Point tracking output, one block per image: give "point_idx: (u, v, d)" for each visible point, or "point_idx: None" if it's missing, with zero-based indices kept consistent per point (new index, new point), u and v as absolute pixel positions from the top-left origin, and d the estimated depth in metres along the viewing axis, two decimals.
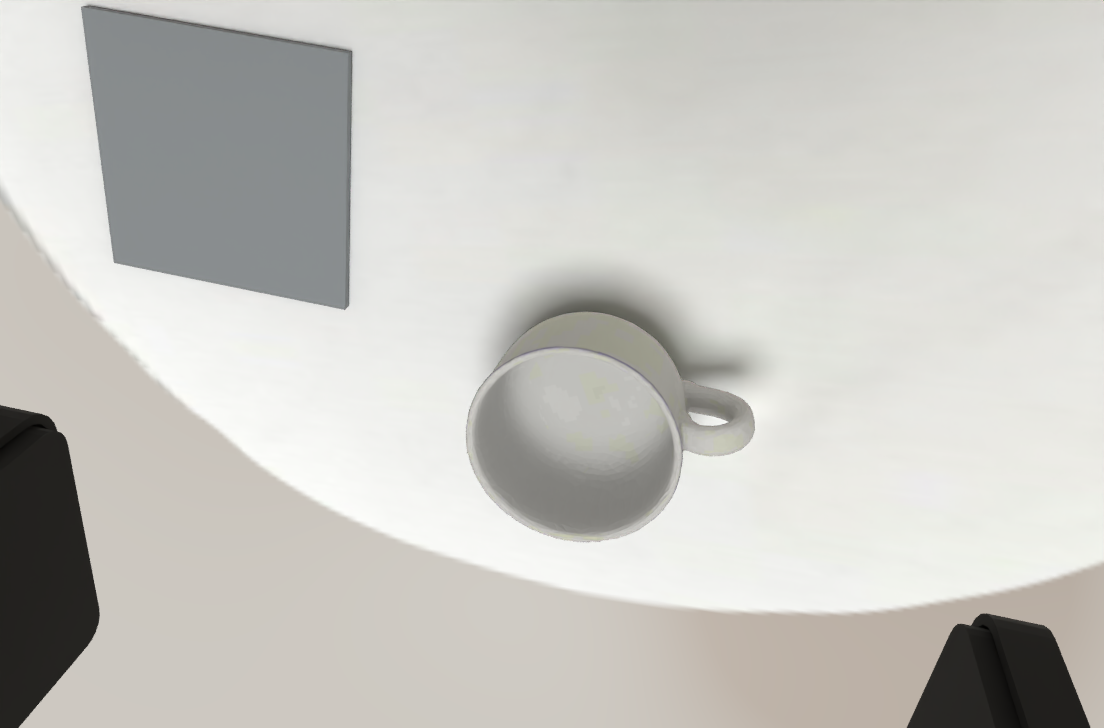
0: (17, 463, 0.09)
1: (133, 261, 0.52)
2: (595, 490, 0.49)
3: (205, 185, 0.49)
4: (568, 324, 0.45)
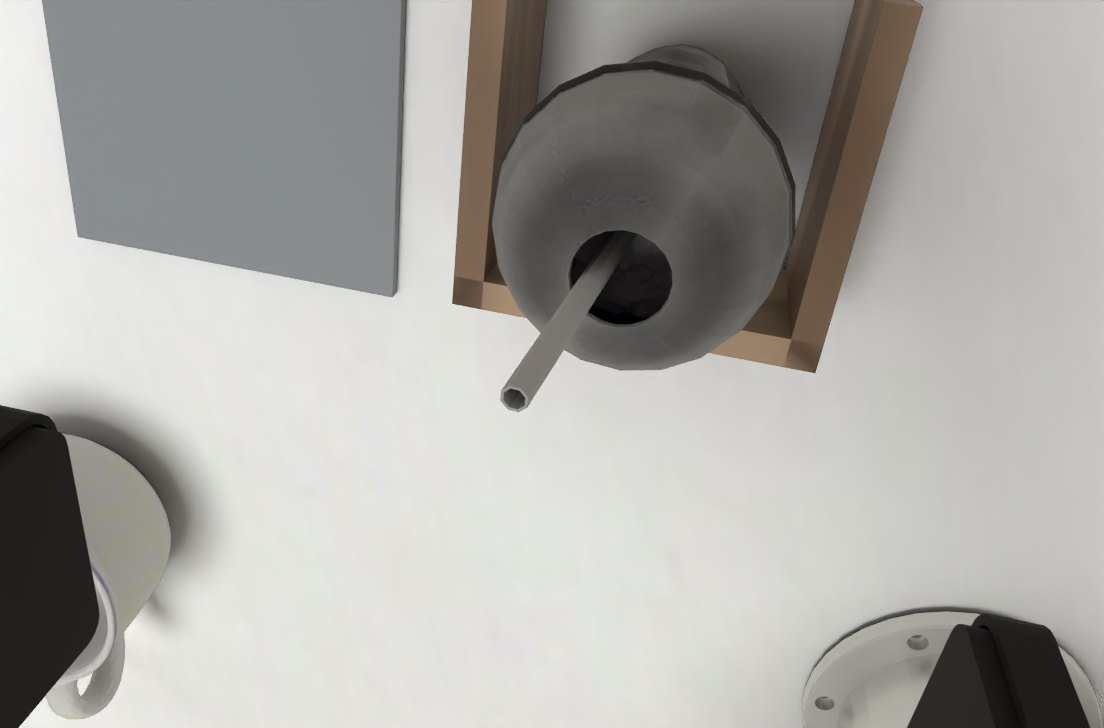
0: (17, 463, 0.09)
1: None
2: None
3: (189, 65, 0.34)
4: (142, 543, 0.41)
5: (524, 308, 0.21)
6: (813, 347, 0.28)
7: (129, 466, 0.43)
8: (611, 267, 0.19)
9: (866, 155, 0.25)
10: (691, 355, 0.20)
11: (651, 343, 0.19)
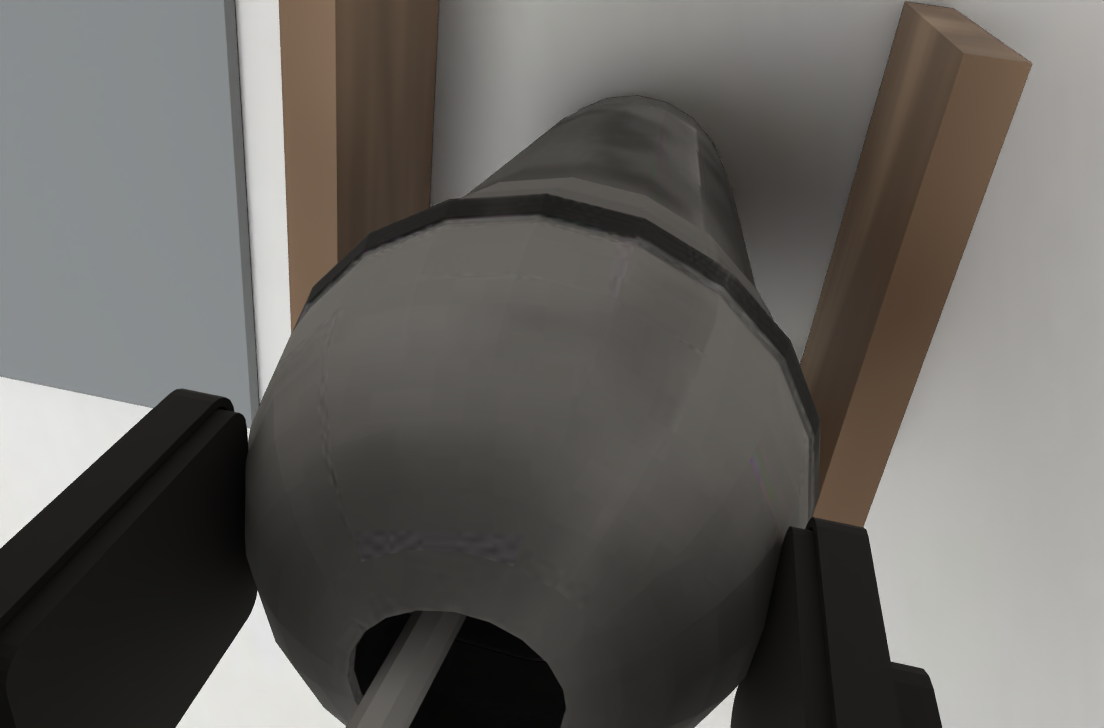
0: (213, 442, 0.09)
1: None
2: None
3: None
4: None
5: None
6: None
7: None
8: (451, 632, 0.09)
9: (925, 297, 0.16)
10: None
11: None
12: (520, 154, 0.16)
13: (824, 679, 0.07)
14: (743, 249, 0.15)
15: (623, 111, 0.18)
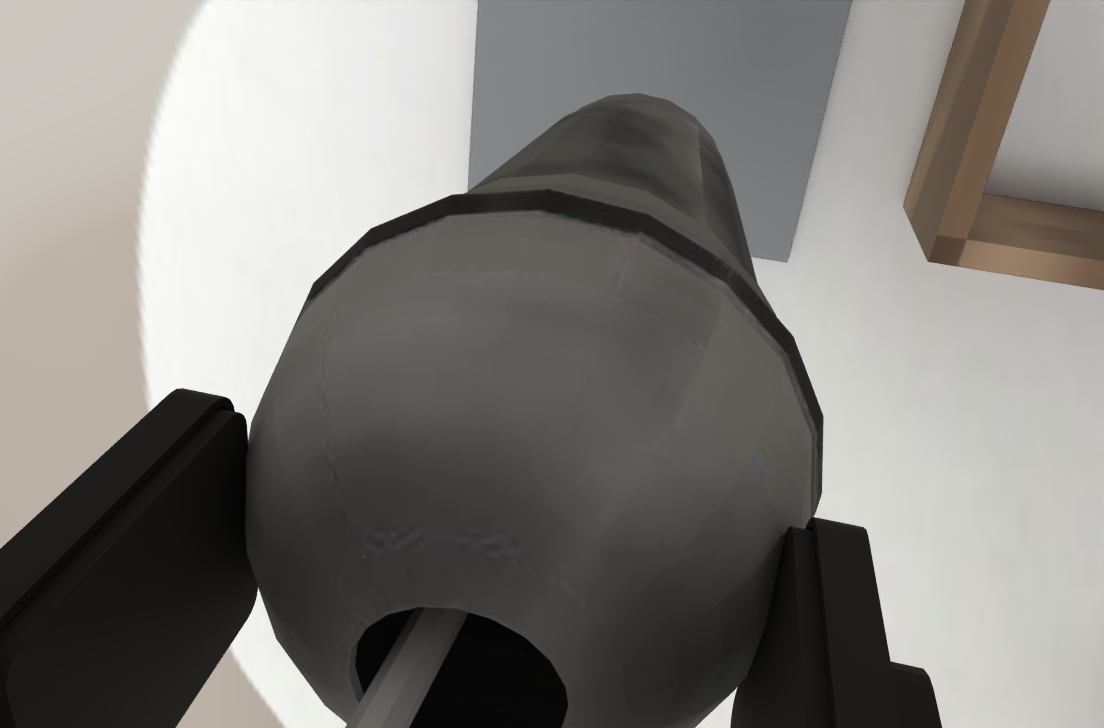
0: (213, 442, 0.09)
1: None
2: None
3: (621, 39, 0.35)
4: None
5: None
6: None
7: None
8: (452, 629, 0.09)
9: None
10: None
11: None
12: (521, 151, 0.16)
13: (824, 679, 0.07)
14: (745, 246, 0.15)
15: (624, 108, 0.18)
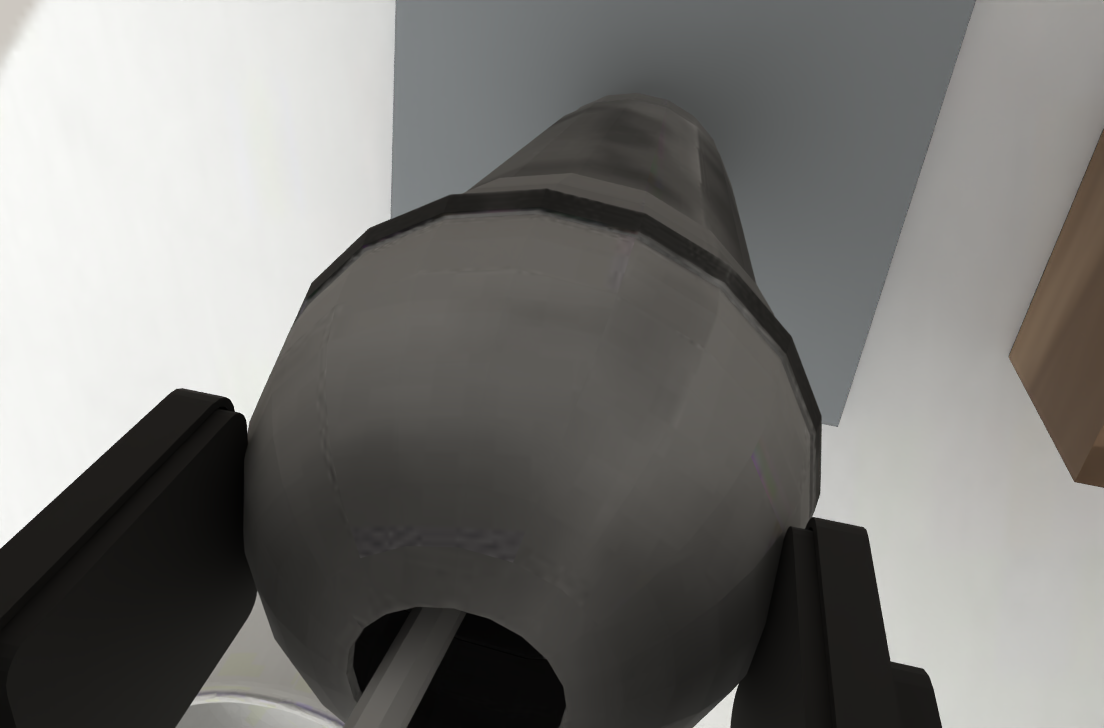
0: (213, 442, 0.09)
1: None
2: (195, 719, 0.34)
3: None
4: None
5: None
6: None
7: None
8: (450, 629, 0.09)
9: None
10: None
11: None
12: (520, 151, 0.16)
13: (823, 679, 0.07)
14: (744, 246, 0.15)
15: (623, 108, 0.18)
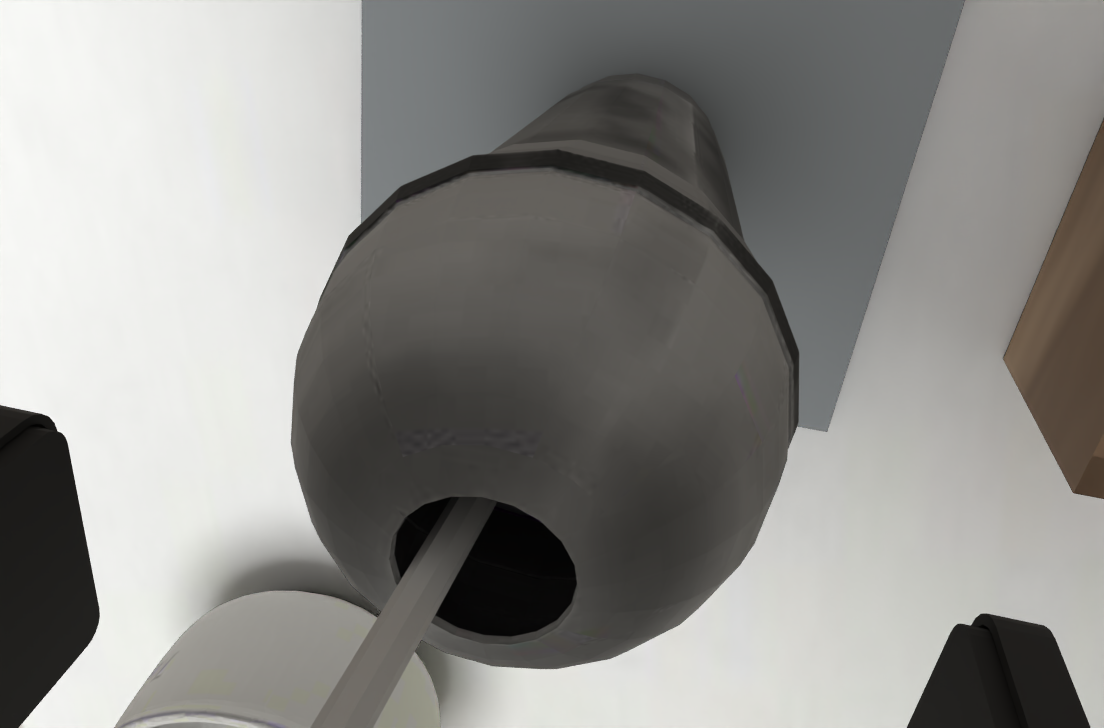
0: (17, 463, 0.09)
1: None
2: None
3: None
4: None
5: None
6: None
7: None
8: (476, 527, 0.11)
9: None
10: None
11: (549, 658, 0.11)
12: (529, 124, 0.18)
13: None
14: (734, 211, 0.17)
15: (624, 86, 0.19)
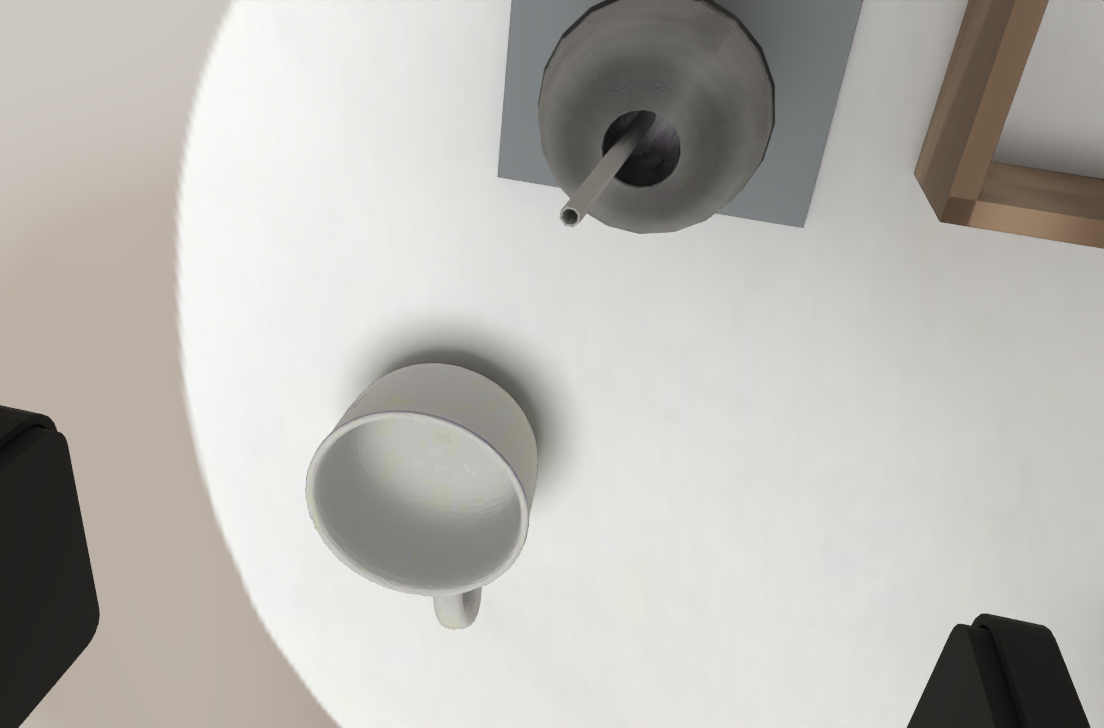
0: (17, 463, 0.09)
1: None
2: (347, 469, 0.47)
3: None
4: (533, 463, 0.45)
5: (564, 181, 0.26)
6: None
7: (508, 394, 0.46)
8: (633, 144, 0.25)
9: None
10: (694, 215, 0.26)
11: (664, 202, 0.25)
12: None
13: None
14: None
15: None
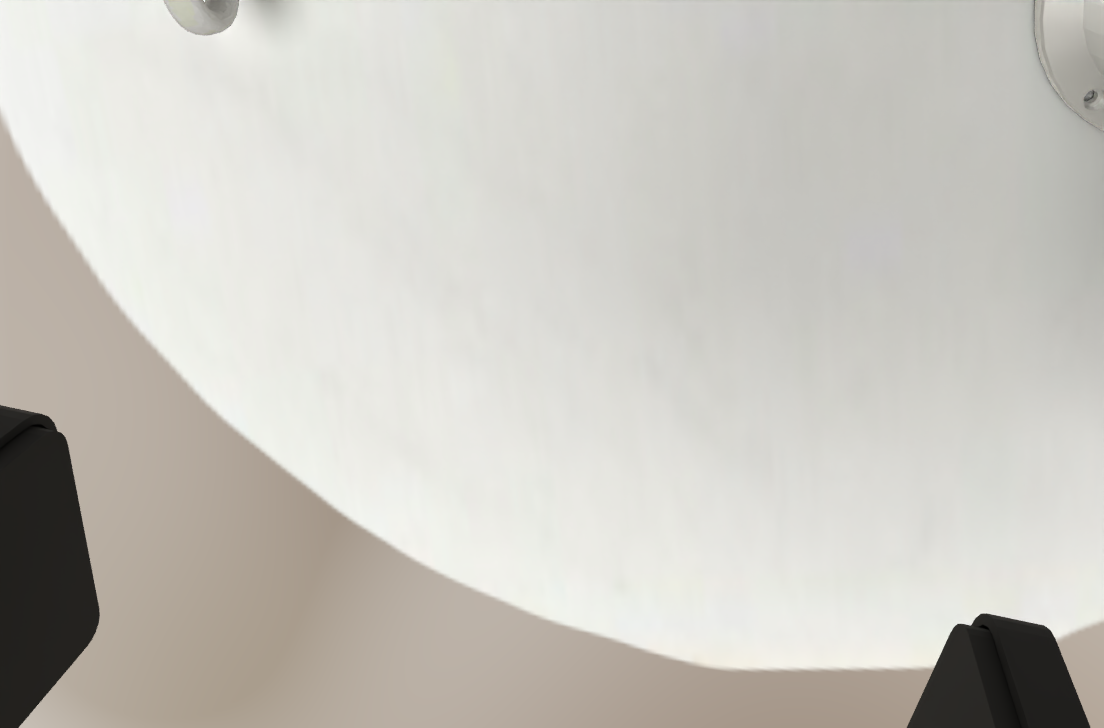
0: (17, 463, 0.09)
1: None
2: None
3: None
4: None
5: None
6: None
7: None
8: None
9: None
10: None
11: None
12: None
13: None
14: None
15: None
